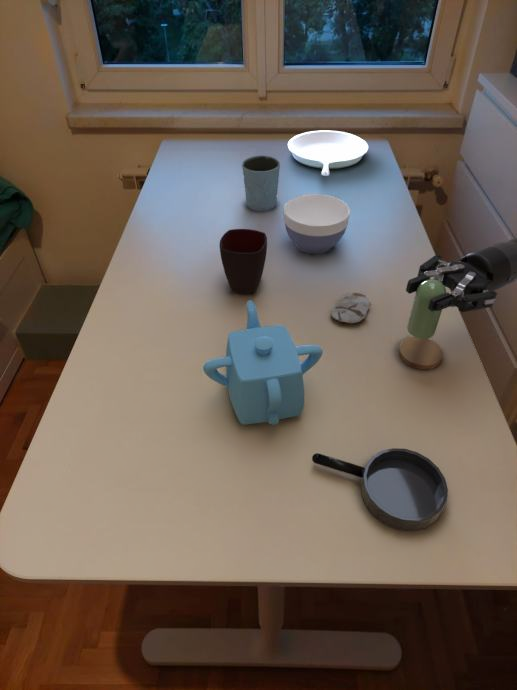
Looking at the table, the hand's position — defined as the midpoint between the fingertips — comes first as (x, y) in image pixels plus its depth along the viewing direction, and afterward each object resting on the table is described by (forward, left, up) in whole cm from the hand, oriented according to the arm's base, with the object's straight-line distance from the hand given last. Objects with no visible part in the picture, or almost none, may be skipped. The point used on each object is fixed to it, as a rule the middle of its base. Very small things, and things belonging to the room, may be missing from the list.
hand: (419, 296), depth 82 cm
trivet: (-3, -6, -18) cm, 19 cm away
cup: (+38, -17, -18) cm, 45 cm away
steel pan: (-4, +25, -18) cm, 31 cm away
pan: (+38, -86, -18) cm, 95 cm away
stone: (+13, -14, -18) cm, 26 cm away
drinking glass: (+48, -53, -18) cm, 73 cm away
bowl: (+28, -38, -18) cm, 50 cm away
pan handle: (+5, +25, -16) cm, 31 cm away
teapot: (+23, +13, -18) cm, 32 cm away
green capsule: (-2, -2, -8) cm, 9 cm away
